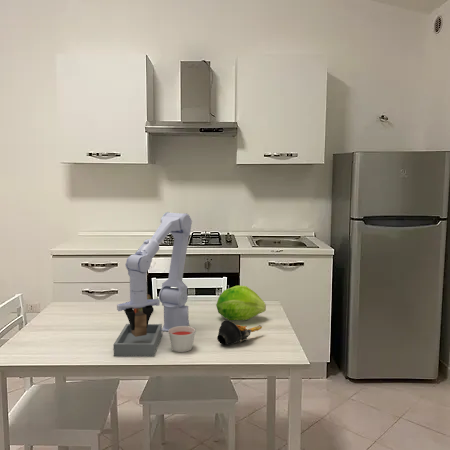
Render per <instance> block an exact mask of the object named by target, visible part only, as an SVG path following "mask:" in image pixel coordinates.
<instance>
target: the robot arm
mask: <svg viewBox="0 0 450 450" xmlns="http://www.w3.org/2000/svg"><path fill="white" fill-rule="evenodd" d="M192 223H193V220H192V218H191V216H190V214H188V212H186V213H185V212H183V213H181V212H179V213H178V212H170V211H167V212H164V213H163V215H162V217H160V224H159V225H158V227H157V229H156V230H155V231H154V234H153V235H152V236H151V238H147V239H145V240H143V243H142V244H141V245H140V247H139V248H138V249H137V251H136V252H135V253H133V254H131V255H129V256H128V257H127V259H126V262H125V269H126V270H127V275H128V277H129V301H127V302H123V303H119V304H118V303H117V304H116V310H117V311H118V312H122V311H124V314H125V316H126V317H127V320H128V324H130V328H131V330H134V328H135V325H134V318H135V312H134V310H133V309H134V308H141V307H142V310H143V313H144V314H146V321H147V326H148V324H149V322H150V319H151V316H152V314H153V312H154V306H157V307H158V306H160V303H161V306H163V325H162V332H169V329H171V328H173V327H177V326H189V325H190V319H189V306H188V305H186V303H187V301H188V299H189V298H188V297H189V295H188V286H187V285H186V283H185V282H184V281H183V278H184V270H185V266H186V264H185V263H186V256H187V251H188V243H189V237H190V236H191V229H192ZM169 234H170V235H172V237H173V243H172V245H173V246H172V251H171V259H170V265H169V271H168V272H169V273H168V279H166V280H165V281H164V282H163V283H161V287H160V288H161V289H160V291H159V293H158V298H153V299H147V295H148V279H147V278H148V277H147V276H148V275H147V273H148V271H149V270H150V269H151V268H150V267H151V264H152V261H153V258H154V257H155V256H156V255H157V253H158V252H159V251H160V244H161V243H162V242H163V240H164V239H165V238H166V237H167V236H168V235H169Z"/></svg>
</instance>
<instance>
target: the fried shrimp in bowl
mask: <svg viewBox="0 0 450 450" xmlns="http://www.w3.org/2000/svg"><path fill="white" fill-rule="evenodd" d="M262 328H263V326H262V325H260V324H258V325H257V326H254V327H251V328H247V325H244V326H243V325H239V324H236V323H235V322H234V321H232V320H228V319H225V320H223V321H222V322H221V323H220V327H219V328H218V333H217V337H216V339H217V341H218V342H219V344H221V345H222V346H226V345H233V344H235V343H239V344H241V343H245V342H246V341H248V338H249V337H250V335H251V333H253V332H256V331H257V332H258V331H259V330H261V329H262Z"/></svg>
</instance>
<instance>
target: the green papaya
mask: <svg viewBox="0 0 450 450" xmlns="http://www.w3.org/2000/svg"><path fill="white" fill-rule="evenodd" d="M215 307H216V309H217V312H218V314H219V315H221V317H223V318H225V320H229V321H240V322H241V321H248V320H250V319H252V318H254V317H256V316H258V315H259V314H262V313H265V312H266V310H267V304H266V303H265V302H264V300H263V299H262V298H261V297H260V295H258V294H257V292H255V291H254V290H253V289H251V288H249V286H246V285H235V286H232V287H229V288H226V289H224V290H223V291H222V292H221V294H219V296H218V299H217V302H216V304H215Z"/></svg>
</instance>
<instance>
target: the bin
mask: <svg viewBox="0 0 450 450" xmlns="http://www.w3.org/2000/svg"><path fill="white" fill-rule="evenodd" d="M162 328H163V324H162V323H156V324H155V323H148V326H147V335H143V336H137V337H135V336H134V335H133V334H132V330H131V328H130V323H126V324H125V325H124V327H123V329H122V330H121V331H120V334H119V335H118V336H117V338H116V339H115V341H114V342H113V357H155V355H156V352H157V349H158V347H159V344H160V342H161V338H162V336H163V331H162Z"/></svg>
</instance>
